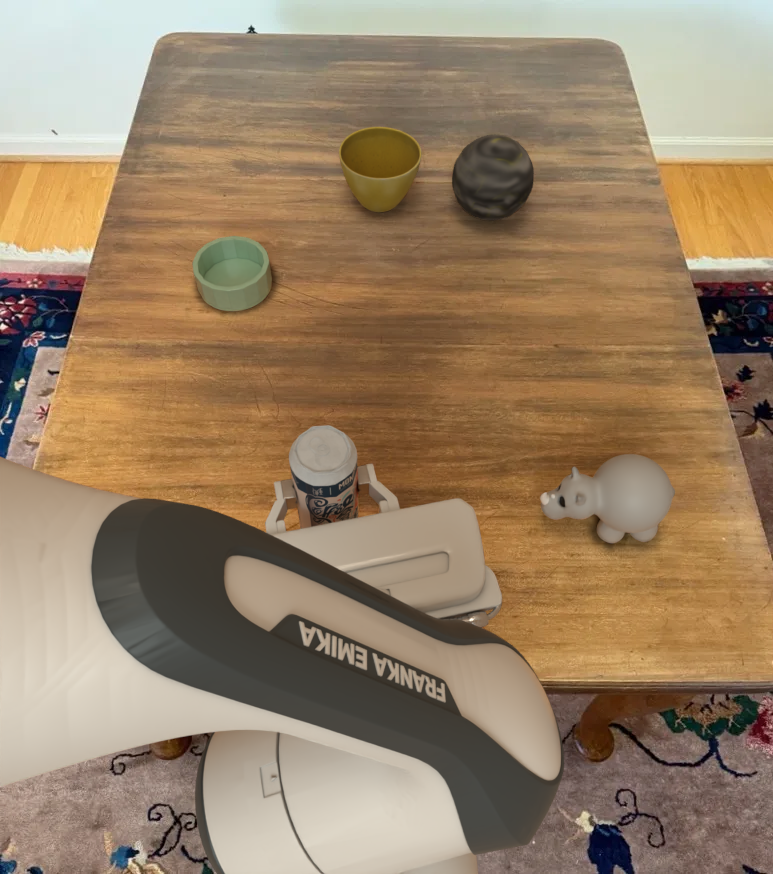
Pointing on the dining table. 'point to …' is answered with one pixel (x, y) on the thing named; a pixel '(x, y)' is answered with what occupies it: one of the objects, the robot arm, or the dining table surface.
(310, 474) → the beer can
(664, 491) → the chubby cartoon animal
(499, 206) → the decorative stone
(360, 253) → the dining table surface
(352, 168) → the flower pot
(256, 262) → the shallow round green bowl
